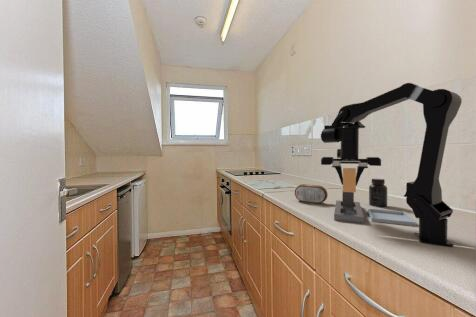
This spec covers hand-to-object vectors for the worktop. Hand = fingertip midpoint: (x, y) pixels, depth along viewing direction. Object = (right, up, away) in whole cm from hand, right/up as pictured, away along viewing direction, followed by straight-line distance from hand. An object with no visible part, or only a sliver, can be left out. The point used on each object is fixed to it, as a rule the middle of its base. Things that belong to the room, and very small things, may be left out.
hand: (349, 185), depth 79 cm
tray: (+14, -12, -1) cm, 18 cm away
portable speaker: (-5, -12, +26) cm, 29 cm away
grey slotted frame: (+2, -12, +6) cm, 13 cm away
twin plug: (+5, -12, +11) cm, 17 cm away
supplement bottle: (+22, -12, +17) cm, 30 cm away
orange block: (0, -2, 0) cm, 2 cm away
